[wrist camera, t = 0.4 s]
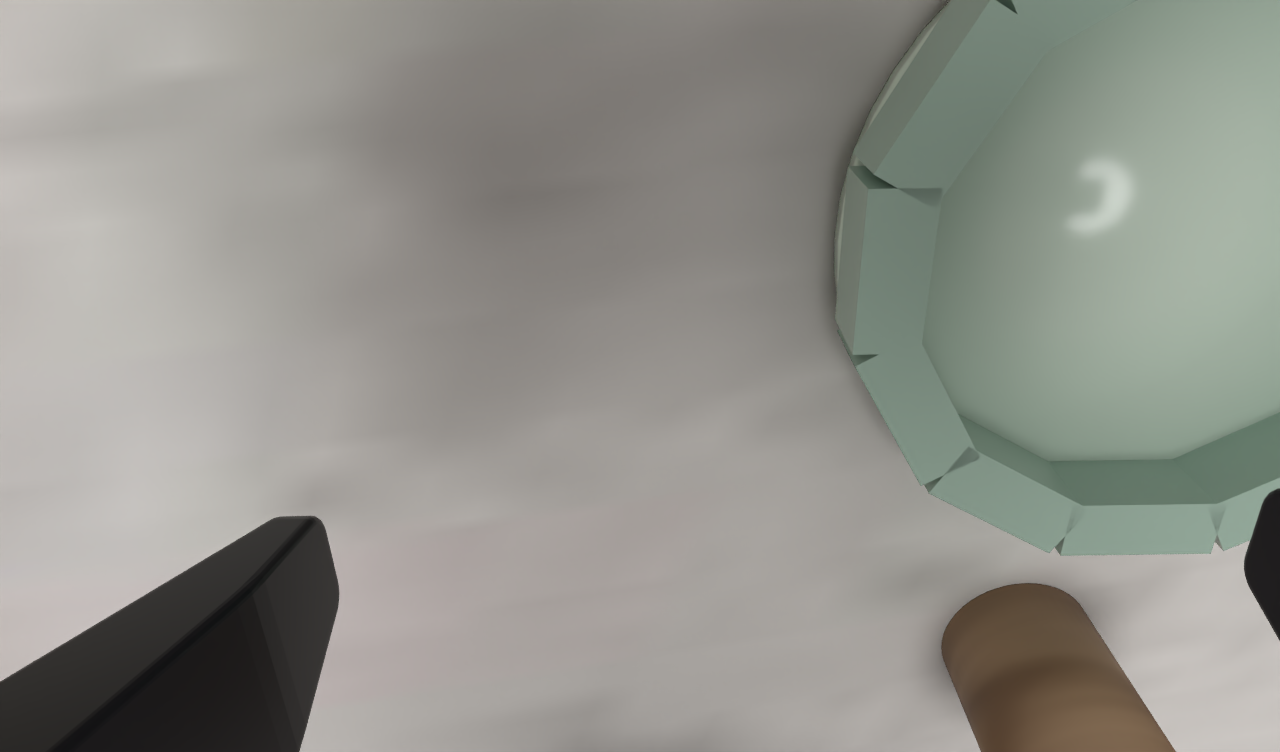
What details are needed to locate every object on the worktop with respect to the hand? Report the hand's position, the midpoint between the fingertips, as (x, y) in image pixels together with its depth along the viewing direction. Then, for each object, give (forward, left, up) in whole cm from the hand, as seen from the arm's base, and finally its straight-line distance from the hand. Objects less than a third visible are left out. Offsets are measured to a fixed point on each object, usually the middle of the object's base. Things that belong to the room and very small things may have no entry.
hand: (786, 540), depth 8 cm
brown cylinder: (-14, -10, -13) cm, 22 cm away
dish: (-1, -11, -13) cm, 17 cm away
